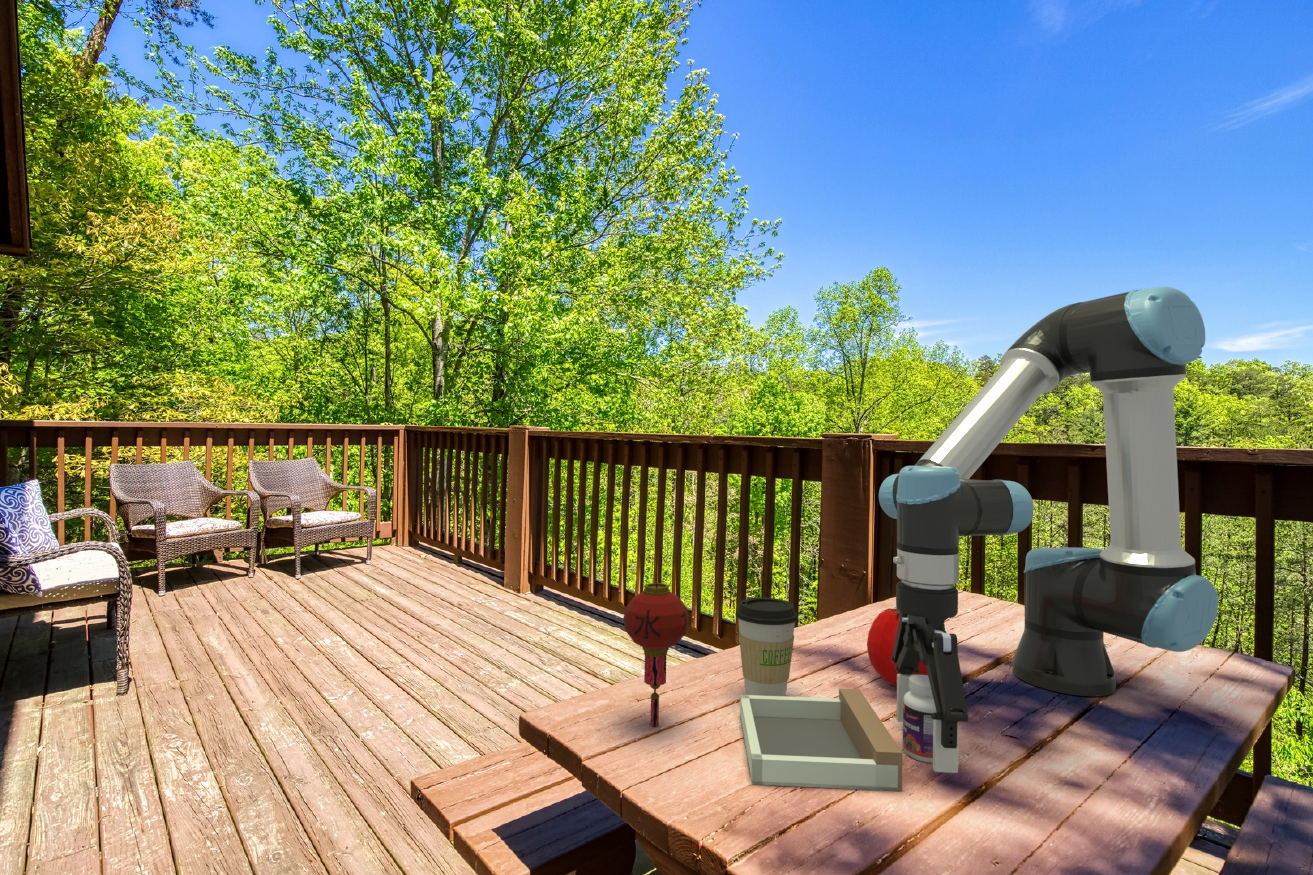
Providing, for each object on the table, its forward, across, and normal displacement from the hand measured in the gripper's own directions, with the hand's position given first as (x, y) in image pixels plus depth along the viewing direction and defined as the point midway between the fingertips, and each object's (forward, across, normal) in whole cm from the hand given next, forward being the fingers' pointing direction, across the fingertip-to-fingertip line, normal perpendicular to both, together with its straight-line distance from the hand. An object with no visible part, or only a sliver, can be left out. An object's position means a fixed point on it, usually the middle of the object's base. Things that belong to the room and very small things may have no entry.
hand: (924, 744), depth 83 cm
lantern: (+1, -5, -36) cm, 36 cm away
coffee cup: (+1, -16, -19) cm, 25 cm away
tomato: (+1, -24, +5) cm, 25 cm away
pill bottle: (+2, 0, 0) cm, 2 cm away
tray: (+1, 0, -15) cm, 15 cm away
